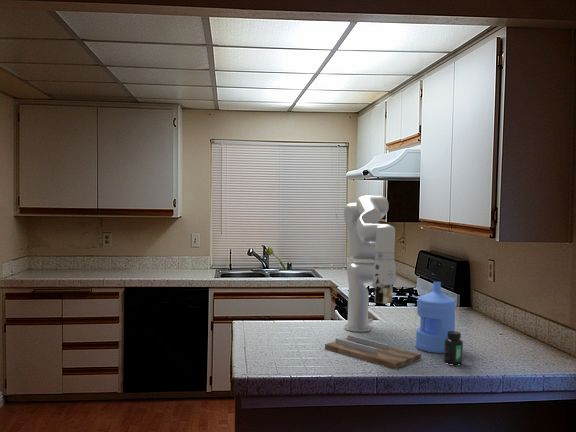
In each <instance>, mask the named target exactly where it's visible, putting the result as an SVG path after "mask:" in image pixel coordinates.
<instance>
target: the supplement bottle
mask: <svg viewBox="0 0 576 432" xmlns="http://www.w3.org/2000/svg"><path fill="white" fill-rule="evenodd" d="M461 335H462V334H461V332H460V331H456V330H455V331H448V335H447V337H448V338H447V339H445V343H444V353H443V363H444V362H445V363H448V364H453V365H458V364H462V365H463V358H464V356H463V355H464V342H463V340H462V339H461V338H462V336H461ZM445 363H444V364H445ZM448 364H447V365H448Z"/></svg>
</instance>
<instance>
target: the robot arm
mask: <svg viewBox="0 0 576 432" xmlns="http://www.w3.org/2000/svg"><path fill="white" fill-rule="evenodd" d="M389 207H390V206H389V200H388V199H387V198H386V197H385V196H383V195H362V196H360V197H358V199H356V202H350V203H347V204H346V205H345V207H344V210H343V218H344V223H345V225H346V228H347V233H348V250H349V256H350V258H351V259H353V260H356V261H371V262H353V263H351V264H348V266H347V269H346V274H347V283H348V293H347V294H348V296H347V297H348V299H347V323H346V324H344V326H343V328H344V330H346V331H349V332H355V333H367V332H370V331H371V330H372V327H371V326H370V325H369V324H371V323H373V321H374V320H373V318H369V300H370V299H369V296H370V295H369V294H370V293H369V290H368V288H367V287H366V286H365V284H371V286H372V287H373V289H374V293H375V292H376V297H375V296H374V302H375V301H376V302H375V303H379V302H380V304H383V303H382V302H383V293H382V290H383V286H388V287H394V285H395V284H396V282H397V271H396V270H397V268H396V261H395V246H396V245H395V244H396V229H395V227H394V226H393V225H391V224H388V223H379V222H380V221H381V219H382V218H384V217H385V216H386V214H387V213H388V211H389ZM379 286H380V288H379Z"/></svg>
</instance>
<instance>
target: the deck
mask: <svg viewBox="0 0 576 432" xmlns="http://www.w3.org/2000/svg"><path fill="white" fill-rule="evenodd" d="M342 339H343V340H347V339H348V337H346V338H342ZM347 341H351V340H347ZM351 342H354V341H351ZM355 343H358V342H355ZM358 344H362V343H358ZM362 345H366V344H362ZM366 346H370V345H366ZM370 347H373V346H370ZM374 348H377V347H374ZM324 350H327V351H329V352H330V351H332V352H335V353H337V354H342V355H345V356H348V357H351V356H352V358H355V359H359V360H363V361H365V360H366V362H369V363H372V362H373V363H372V364H376V363H377V364H376V365H379V364H380V366H383V365H384V366H383V367H386V366H387V368H390V367H391V368H390V369H393V368H394V369H393V370H397V369H399V368H398V367H400V368H402V367H404V366H403V365H405V366H407V365H410V364H412V363H415V362H418V361H420V360H421V359H422V354H421V353H417V352H414V351H410V350H406V349H402V348H398V347H394V346H390V345H389V350H385V349H381V348H377V354H374V353H370V352H366V351H363V350H359V349H355V348H352V347H348V346H344V345H341V344H337V343H336V340H335V341H331V342H327V343H325V344H324ZM419 359H420V360H419ZM417 360H418V361H417ZM414 361H415V362H414ZM411 362H412V363H411ZM409 363H410V364H409ZM406 364H407V365H406ZM401 366H402V367H401ZM396 368H397V369H396Z"/></svg>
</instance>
